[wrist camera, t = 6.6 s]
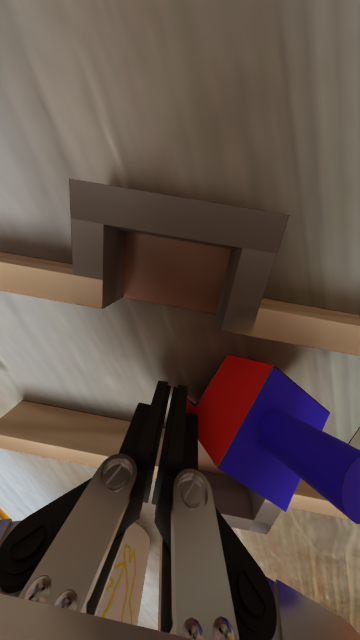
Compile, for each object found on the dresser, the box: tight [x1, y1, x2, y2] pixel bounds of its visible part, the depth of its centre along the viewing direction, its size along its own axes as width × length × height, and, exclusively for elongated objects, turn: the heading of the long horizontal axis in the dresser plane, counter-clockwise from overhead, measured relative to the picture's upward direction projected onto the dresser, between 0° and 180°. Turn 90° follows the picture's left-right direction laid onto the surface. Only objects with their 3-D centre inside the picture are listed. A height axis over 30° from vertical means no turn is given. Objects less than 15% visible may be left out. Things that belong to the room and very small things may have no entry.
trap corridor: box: [0, 179, 360, 534], centre depth 10 cm, size 18×24×2 cm
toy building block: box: [186, 355, 360, 524], centre depth 8 cm, size 4×4×8 cm
